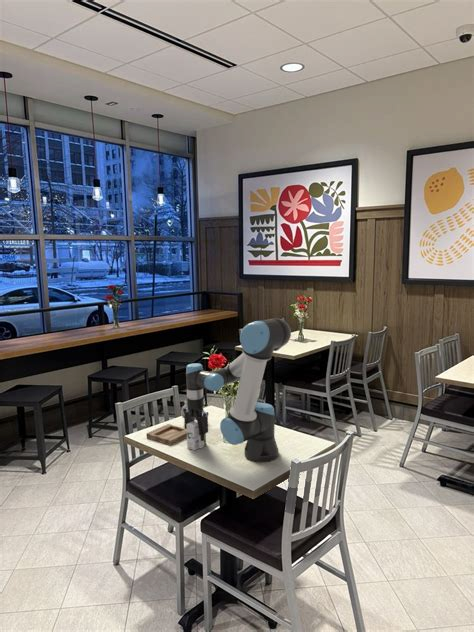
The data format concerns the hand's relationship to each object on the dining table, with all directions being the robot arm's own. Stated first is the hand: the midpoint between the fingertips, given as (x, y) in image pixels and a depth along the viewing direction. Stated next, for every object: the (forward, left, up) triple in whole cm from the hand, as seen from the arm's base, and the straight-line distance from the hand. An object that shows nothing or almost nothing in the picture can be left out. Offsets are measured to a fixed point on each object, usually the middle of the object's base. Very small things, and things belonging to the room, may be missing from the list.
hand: (196, 445), depth 212 cm
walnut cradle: (+19, -1, 0) cm, 19 cm away
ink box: (0, 0, -1) cm, 1 cm away
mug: (+24, -23, -1) cm, 33 cm away
